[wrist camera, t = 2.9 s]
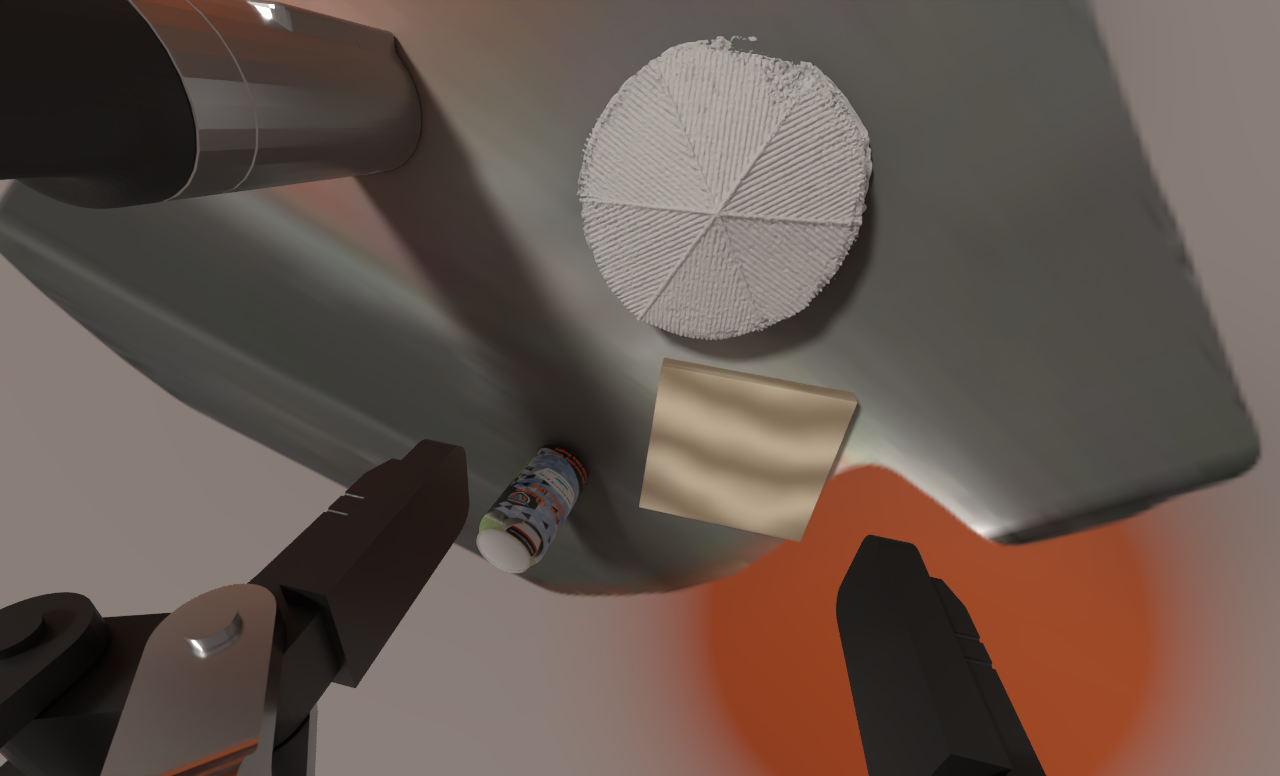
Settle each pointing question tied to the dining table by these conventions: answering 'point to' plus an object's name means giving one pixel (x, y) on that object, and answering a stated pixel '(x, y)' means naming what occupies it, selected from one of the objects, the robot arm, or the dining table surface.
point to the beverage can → (532, 509)
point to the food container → (723, 189)
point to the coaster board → (741, 448)
